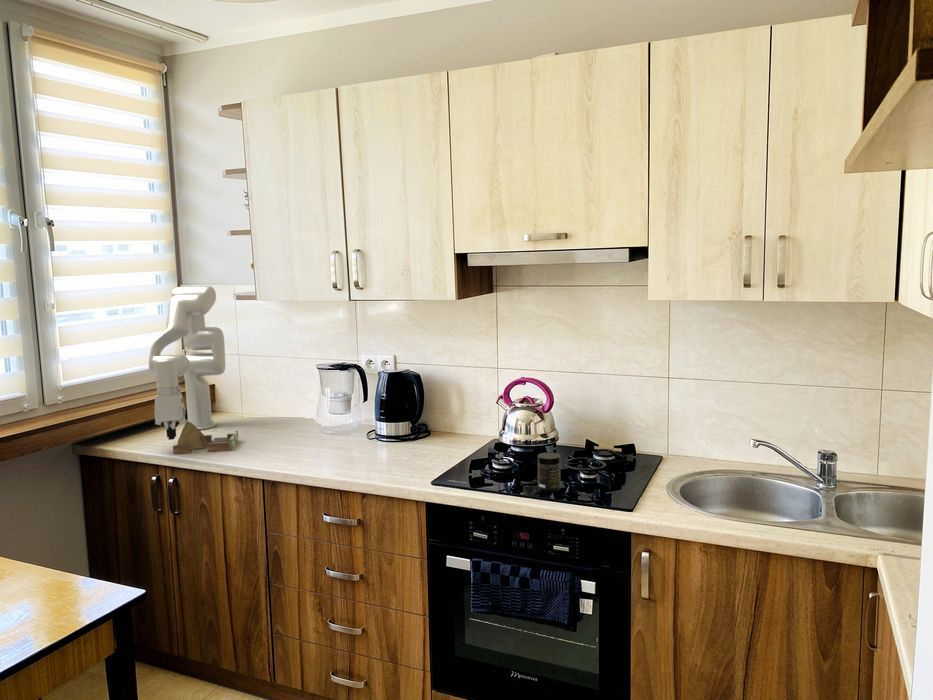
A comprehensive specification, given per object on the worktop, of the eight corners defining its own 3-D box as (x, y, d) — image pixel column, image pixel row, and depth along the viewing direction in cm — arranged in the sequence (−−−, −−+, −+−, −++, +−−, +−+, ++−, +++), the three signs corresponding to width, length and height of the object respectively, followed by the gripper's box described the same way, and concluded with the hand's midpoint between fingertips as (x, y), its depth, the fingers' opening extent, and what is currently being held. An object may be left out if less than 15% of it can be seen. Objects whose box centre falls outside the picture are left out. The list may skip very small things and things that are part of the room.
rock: (216, 439, 273) (198, 433, 277) (206, 425, 267) (187, 419, 271) (197, 461, 266) (179, 454, 271) (186, 447, 261) (168, 441, 265)
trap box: (186, 440, 282) (185, 430, 281) (240, 436, 285) (240, 427, 284) (173, 454, 262) (172, 443, 261) (232, 450, 265) (231, 439, 265)
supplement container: (565, 488, 214) (564, 455, 213) (551, 494, 209) (551, 460, 208) (546, 484, 219) (546, 451, 217) (533, 489, 214) (533, 456, 212)
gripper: (191, 388, 270) (194, 435, 273) (149, 390, 268) (153, 437, 271) (186, 392, 263) (190, 440, 265) (143, 394, 261) (148, 442, 263)
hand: (171, 438), depth 268 cm, fingers closed
